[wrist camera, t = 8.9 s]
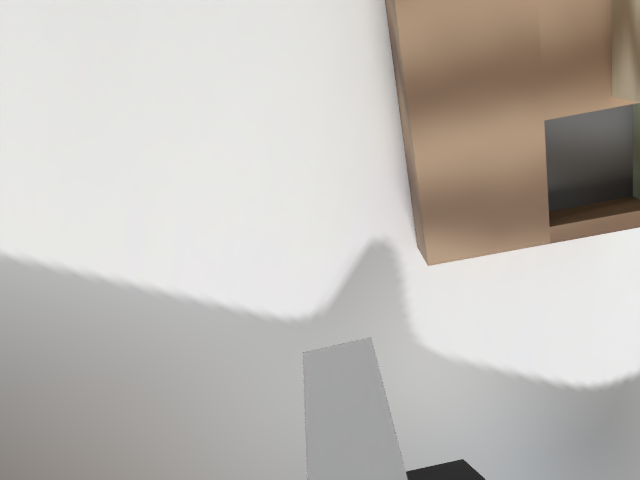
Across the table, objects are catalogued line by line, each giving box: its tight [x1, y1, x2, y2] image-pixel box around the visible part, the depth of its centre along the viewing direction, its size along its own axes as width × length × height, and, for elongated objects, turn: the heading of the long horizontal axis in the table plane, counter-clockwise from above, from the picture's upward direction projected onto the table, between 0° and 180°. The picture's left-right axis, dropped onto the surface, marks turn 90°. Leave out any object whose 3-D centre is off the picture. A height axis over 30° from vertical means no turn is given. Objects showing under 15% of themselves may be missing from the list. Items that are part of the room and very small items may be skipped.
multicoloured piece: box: [385, 0, 640, 266], centre depth 31 cm, size 20×19×4 cm
